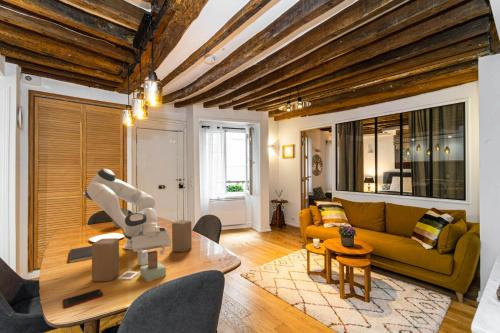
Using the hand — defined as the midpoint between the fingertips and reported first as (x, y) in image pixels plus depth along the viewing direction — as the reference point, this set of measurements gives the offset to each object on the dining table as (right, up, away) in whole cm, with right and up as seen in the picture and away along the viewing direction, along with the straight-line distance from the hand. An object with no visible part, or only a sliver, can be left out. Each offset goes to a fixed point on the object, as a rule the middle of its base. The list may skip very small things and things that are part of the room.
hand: (153, 255), depth 132 cm
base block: (0, -12, +1) cm, 12 cm away
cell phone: (-23, -12, -22) cm, 34 cm away
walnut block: (0, -6, +1) cm, 7 cm away
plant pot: (-74, -10, +103) cm, 127 cm away
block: (+5, -11, +40) cm, 42 cm away
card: (-13, -11, 0) cm, 17 cm away
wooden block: (-25, -12, -1) cm, 27 cm away
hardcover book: (-60, -12, +32) cm, 69 cm away
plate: (-63, -11, +65) cm, 91 cm away
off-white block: (-12, -11, +16) cm, 23 cm away
